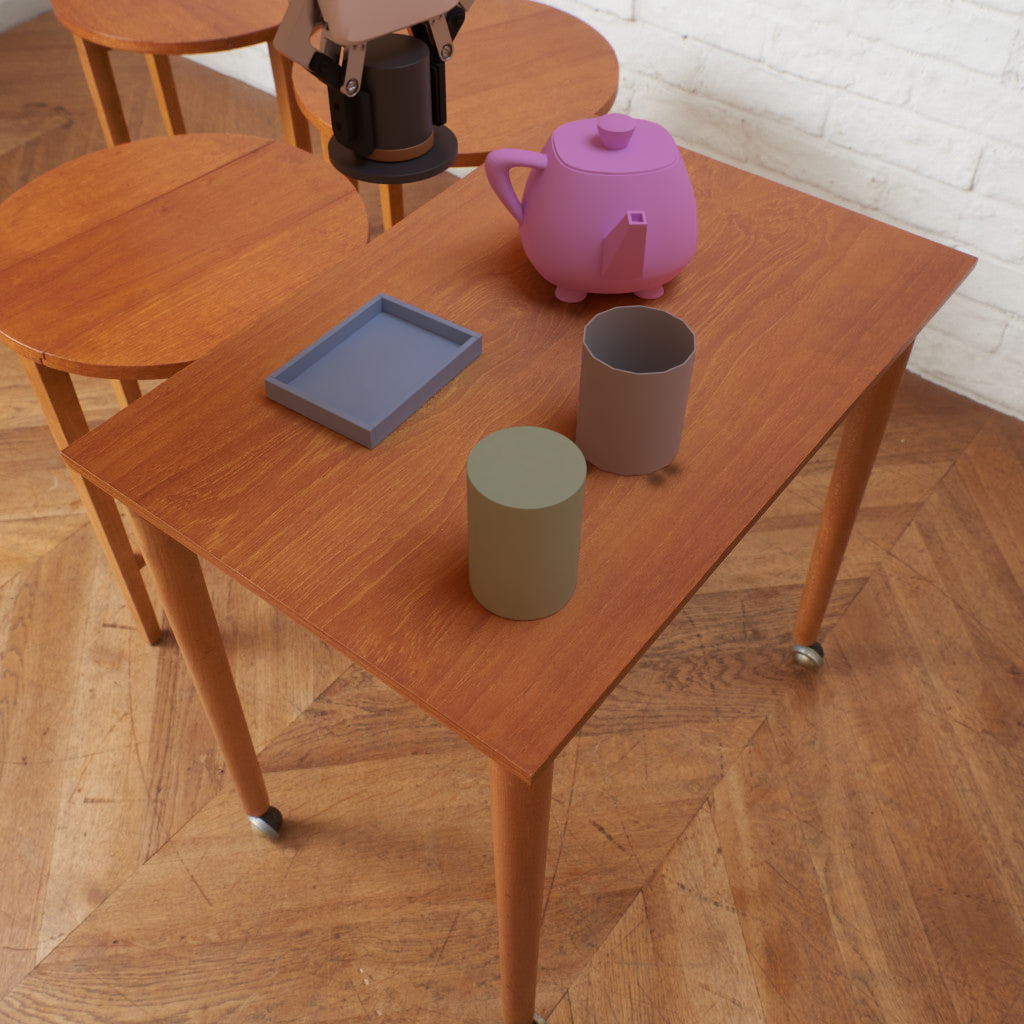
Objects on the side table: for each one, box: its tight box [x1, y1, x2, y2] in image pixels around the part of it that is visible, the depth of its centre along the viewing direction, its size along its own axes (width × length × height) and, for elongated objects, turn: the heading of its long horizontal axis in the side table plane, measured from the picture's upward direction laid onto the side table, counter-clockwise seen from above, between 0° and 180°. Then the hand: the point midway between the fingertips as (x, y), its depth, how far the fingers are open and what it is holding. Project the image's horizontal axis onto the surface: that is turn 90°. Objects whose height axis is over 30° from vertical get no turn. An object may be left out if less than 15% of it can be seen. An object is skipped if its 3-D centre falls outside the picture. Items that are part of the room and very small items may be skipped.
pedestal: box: [465, 425, 588, 621], centre depth 70 cm, size 8×8×11 cm
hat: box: [327, 32, 459, 185], centre depth 66 cm, size 8×8×7 cm
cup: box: [574, 304, 697, 477], centre depth 81 cm, size 8×8×10 cm
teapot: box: [484, 113, 699, 304], centre depth 94 cm, size 20×20×15 cm
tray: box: [263, 292, 483, 450], centre depth 89 cm, size 15×11×2 cm
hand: (391, 130), depth 67 cm, fingers closed on hat, 5 cm apart
